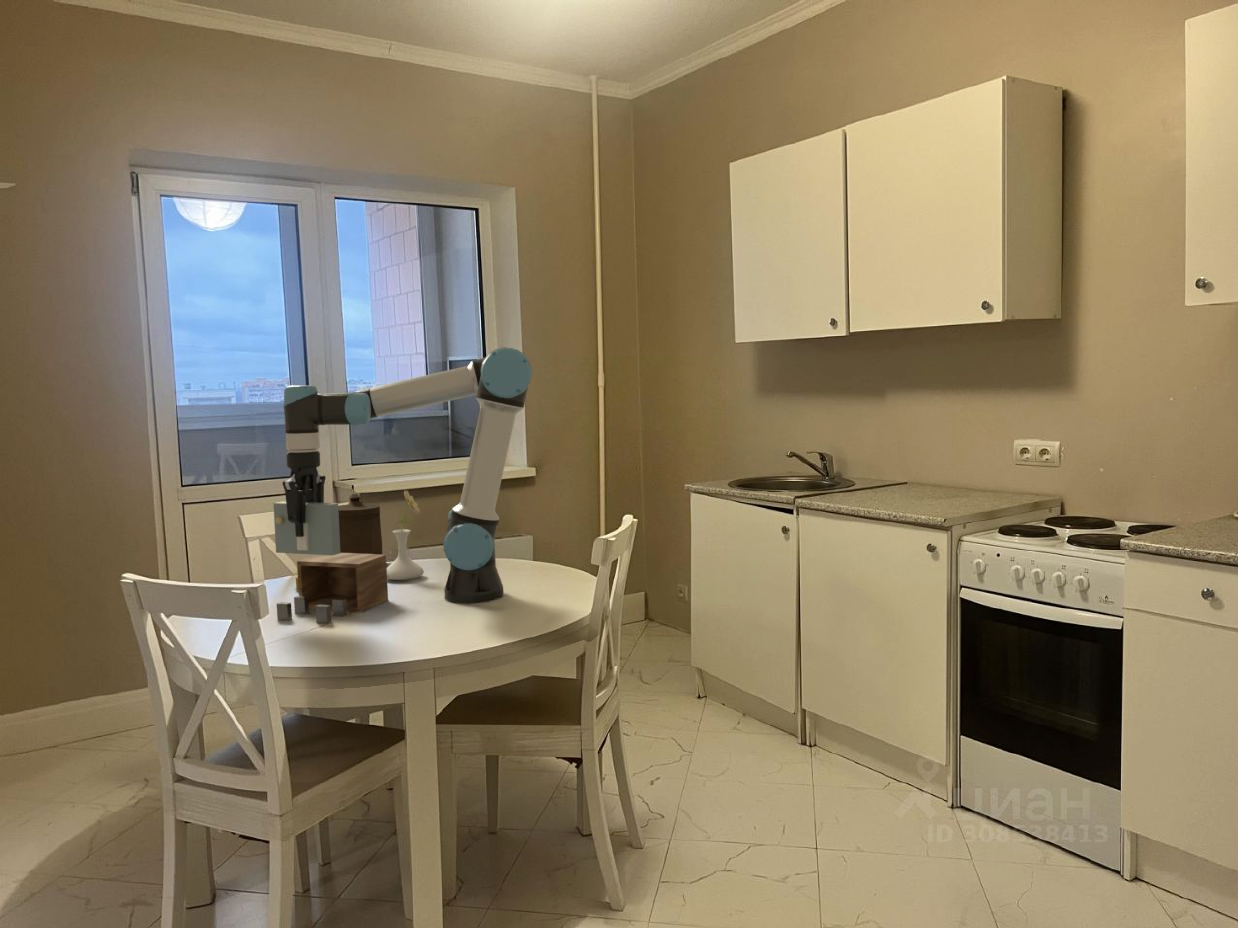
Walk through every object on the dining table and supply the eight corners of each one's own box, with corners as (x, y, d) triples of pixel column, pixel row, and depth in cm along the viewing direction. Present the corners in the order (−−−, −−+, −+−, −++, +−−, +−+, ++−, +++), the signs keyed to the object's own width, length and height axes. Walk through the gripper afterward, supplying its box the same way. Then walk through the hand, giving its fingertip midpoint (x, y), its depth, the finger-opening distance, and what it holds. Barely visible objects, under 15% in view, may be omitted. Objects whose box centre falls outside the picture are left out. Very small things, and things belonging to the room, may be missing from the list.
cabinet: (388, 600, 241) (385, 554, 240) (361, 612, 229) (358, 564, 228) (328, 596, 246) (326, 552, 245) (299, 608, 235) (296, 561, 234)
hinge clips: (347, 614, 227) (346, 598, 227) (327, 623, 220) (326, 606, 219) (298, 611, 232) (297, 595, 231) (277, 619, 224) (276, 603, 224)
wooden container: (370, 558, 299) (367, 489, 297) (391, 564, 288) (387, 493, 285) (325, 564, 290) (321, 494, 287) (345, 572, 278) (341, 498, 276)
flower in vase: (411, 584, 260) (407, 494, 257) (375, 582, 263) (370, 494, 261) (434, 574, 272) (430, 488, 269) (399, 572, 275) (395, 488, 273)
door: (340, 553, 223) (338, 503, 222) (329, 556, 219) (327, 505, 218) (284, 550, 228) (281, 501, 227) (272, 553, 224) (270, 503, 223)
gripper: (310, 447, 230) (315, 541, 233) (267, 453, 215) (272, 554, 217) (336, 448, 228) (341, 543, 230) (294, 453, 213) (299, 555, 215)
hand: (307, 548), depth 224 cm, fingers closed on door, 3 cm apart
